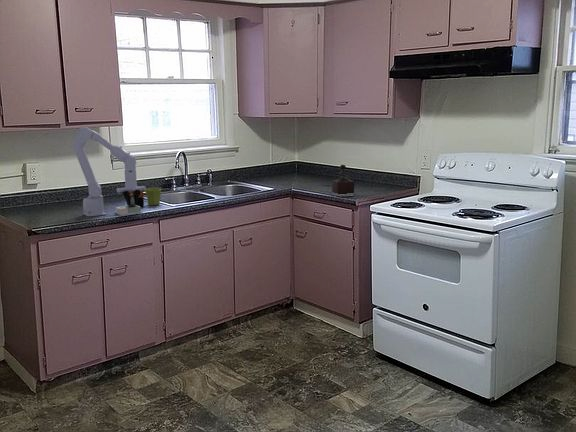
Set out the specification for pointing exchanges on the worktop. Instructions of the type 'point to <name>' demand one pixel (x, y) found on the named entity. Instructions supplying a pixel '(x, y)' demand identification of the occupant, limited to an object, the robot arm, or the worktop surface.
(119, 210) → the charger
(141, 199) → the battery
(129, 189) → the robot arm
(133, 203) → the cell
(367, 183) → the worktop surface
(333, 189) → the brown bottle
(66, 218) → the worktop surface
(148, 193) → the plant pot
